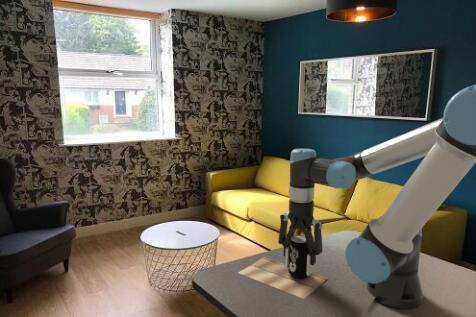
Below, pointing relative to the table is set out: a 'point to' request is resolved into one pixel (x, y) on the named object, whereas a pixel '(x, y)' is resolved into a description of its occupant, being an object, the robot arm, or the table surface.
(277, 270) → the loose plank
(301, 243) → the beverage can
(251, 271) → the laid plank
